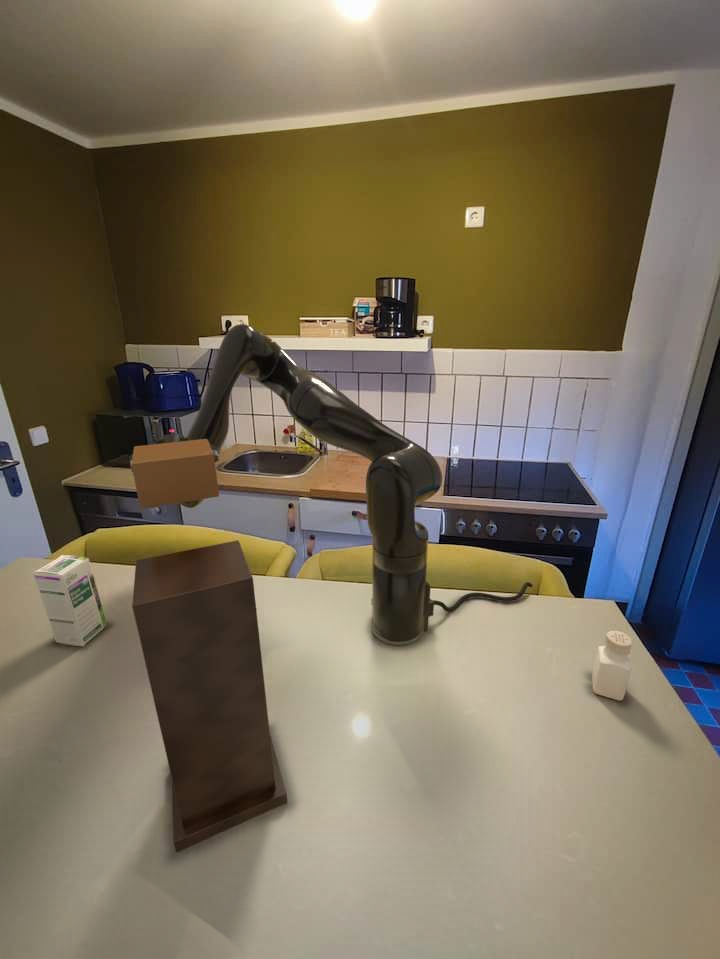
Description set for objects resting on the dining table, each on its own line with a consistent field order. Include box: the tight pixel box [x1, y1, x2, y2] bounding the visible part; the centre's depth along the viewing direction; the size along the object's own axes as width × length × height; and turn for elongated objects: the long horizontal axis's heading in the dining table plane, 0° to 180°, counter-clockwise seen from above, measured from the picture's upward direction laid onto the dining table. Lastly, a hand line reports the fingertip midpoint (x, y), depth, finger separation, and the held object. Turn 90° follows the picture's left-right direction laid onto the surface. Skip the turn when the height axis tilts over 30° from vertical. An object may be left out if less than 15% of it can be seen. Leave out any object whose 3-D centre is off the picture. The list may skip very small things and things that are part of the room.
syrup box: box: [32, 554, 108, 648], centre depth 74 cm, size 6×6×14 cm
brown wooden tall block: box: [131, 540, 288, 853], centre depth 46 cm, size 12×10×30 cm
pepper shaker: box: [591, 630, 633, 701], centre depth 63 cm, size 4×4×10 cm
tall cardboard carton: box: [130, 433, 220, 510], centre depth 56 cm, size 8×24×5 cm, turn 24°
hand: (172, 443), depth 60 cm, fingers closed on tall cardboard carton
